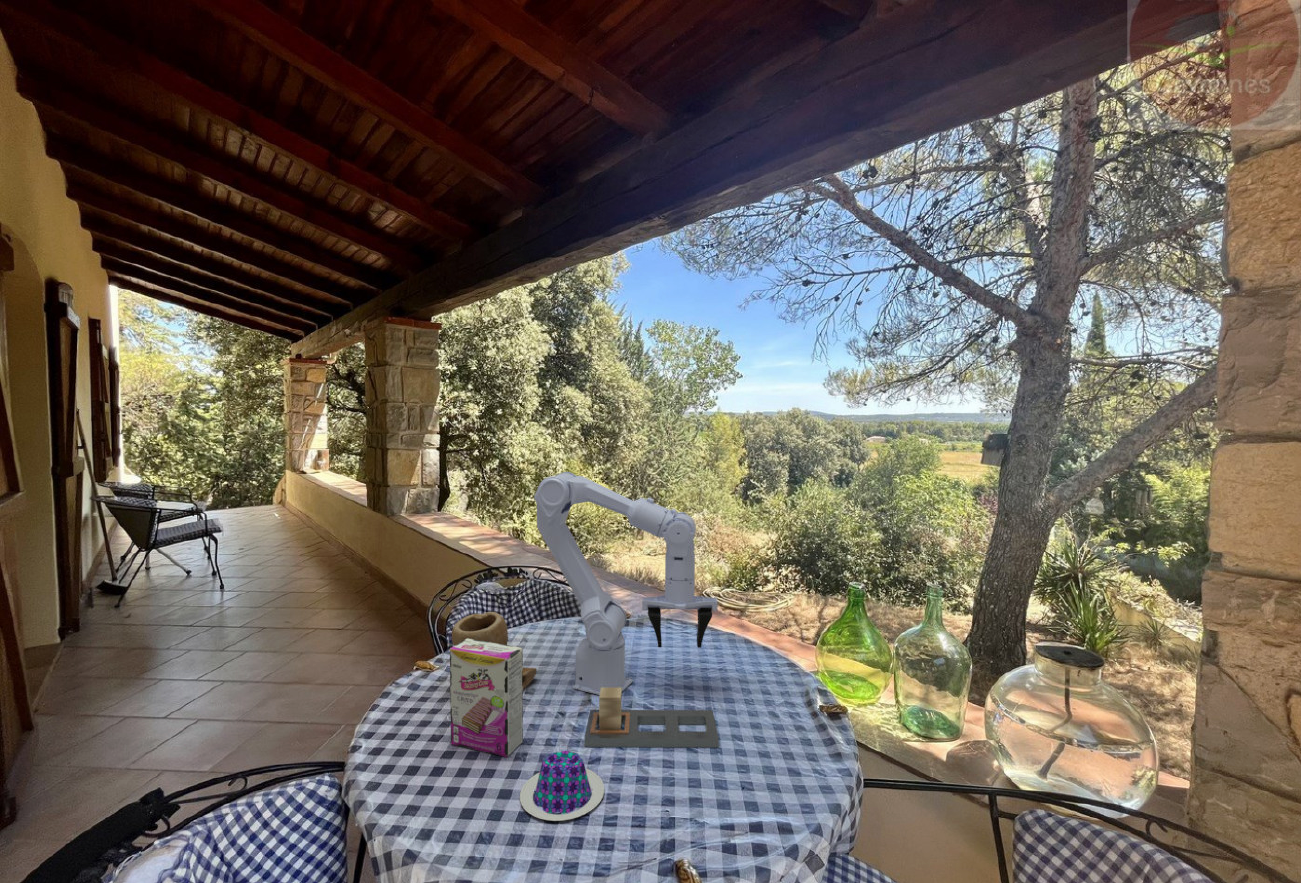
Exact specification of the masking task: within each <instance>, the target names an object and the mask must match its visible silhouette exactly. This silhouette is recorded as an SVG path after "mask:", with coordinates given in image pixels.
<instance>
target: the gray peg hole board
mask: <svg viewBox="0 0 1301 883" xmlns="http://www.w3.org/2000/svg"><path fill="white" fill-rule="evenodd" d="M622 725H624V726H623V728H624V729H621V730H599V729H598V727H599V709H590V710H589V713H588V719H587V724H586V729H585V734H584V738H583V739H584V740H583V741H584V747H585V748H719V743H720V742H719V735H718V729H717V724H716V720H715V715H714V710H713V709H712V710H710V709H701V710H699V709H622ZM639 725H664V728H665V730H663V731H662V730H658V731H657V730H656V731H655V730H643V731H642V730H639V729H638V726H639ZM680 725H681V726H682V725H684V726H685V725H689V726H691V725H693V726H694V725H695V726H696V725H697V726H698V725H703V726H704V728H705V730H703V731H702V730H701V731H693V730H692V731H691V730H690V731H685V730H683V731H682V730H681V731H680V728H679V726H680Z"/></svg>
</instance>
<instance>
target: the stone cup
mask: <svg viewBox="0 0 1301 883" xmlns="http://www.w3.org/2000/svg"><path fill="white" fill-rule="evenodd" d="M467 638H468V639H473V640H479V641H485V642H490V643H496V644H502V645H508V640H509V632H508V625H507V623H506V620H505V618H504V617H503V616H502V615H501V614H499V613H497V612H495V611H487V612H484V613H473V614H470V615H466V616H465V617H463V618H461V619H459V621H457V622H455V624H454V626H453V628H452V629H451V642H452V645H453V646H455V645H457V644H459V643H460V642H462V641H464V640H465V639H467ZM453 646H452V647H453ZM522 671H523V672H522V673H523V690H525V688H527V687H528V686H529V685H530V684H531V682H532V681H533V680H534V678H535V677H536V675H537V673H538V669H537V668H536V667H523V670H522Z"/></svg>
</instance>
